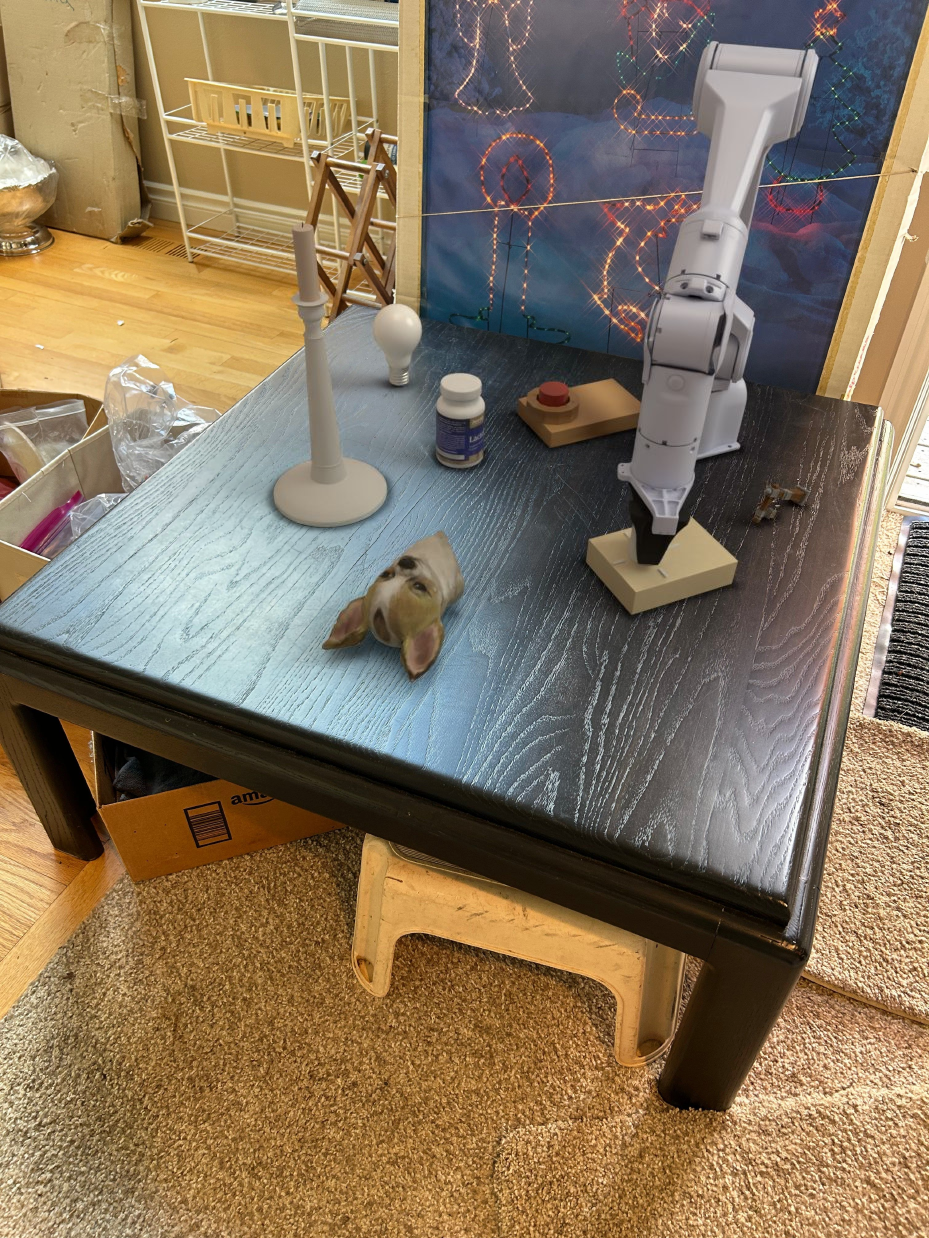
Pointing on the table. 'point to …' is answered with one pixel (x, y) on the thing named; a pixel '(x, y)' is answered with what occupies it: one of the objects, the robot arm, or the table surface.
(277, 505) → the candlestick
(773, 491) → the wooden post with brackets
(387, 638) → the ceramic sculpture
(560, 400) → the stop button
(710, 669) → the table surface
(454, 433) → the pill bottle
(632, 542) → the tap knob
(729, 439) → the robot arm
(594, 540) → the rotary dial block
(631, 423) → the button block
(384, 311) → the lightbulb
